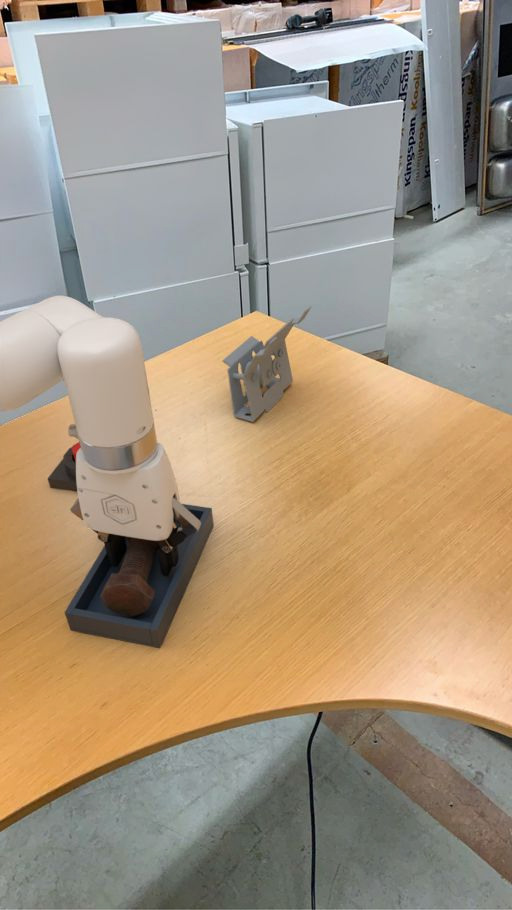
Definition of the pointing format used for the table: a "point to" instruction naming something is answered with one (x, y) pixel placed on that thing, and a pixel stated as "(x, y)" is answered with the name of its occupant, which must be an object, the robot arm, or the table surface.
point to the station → (64, 473)
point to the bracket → (260, 372)
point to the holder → (169, 590)
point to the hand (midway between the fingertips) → (144, 561)
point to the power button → (75, 449)
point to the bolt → (132, 580)
